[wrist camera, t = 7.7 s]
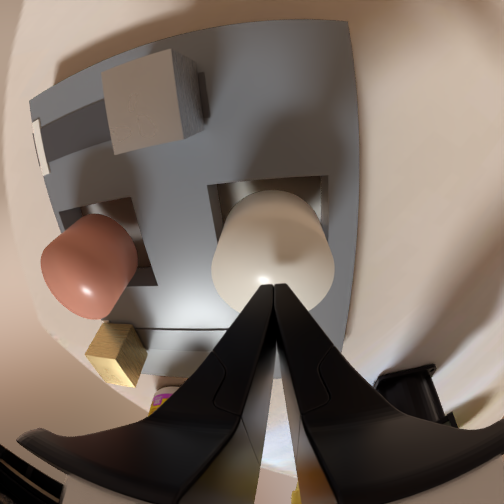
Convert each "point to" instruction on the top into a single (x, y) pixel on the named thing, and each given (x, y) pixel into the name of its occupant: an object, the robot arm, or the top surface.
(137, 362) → the brushed gold cube
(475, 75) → the top surface
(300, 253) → the button ivory
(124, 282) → the button rust
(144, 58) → the lever grey
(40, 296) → the top surface
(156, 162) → the panel
